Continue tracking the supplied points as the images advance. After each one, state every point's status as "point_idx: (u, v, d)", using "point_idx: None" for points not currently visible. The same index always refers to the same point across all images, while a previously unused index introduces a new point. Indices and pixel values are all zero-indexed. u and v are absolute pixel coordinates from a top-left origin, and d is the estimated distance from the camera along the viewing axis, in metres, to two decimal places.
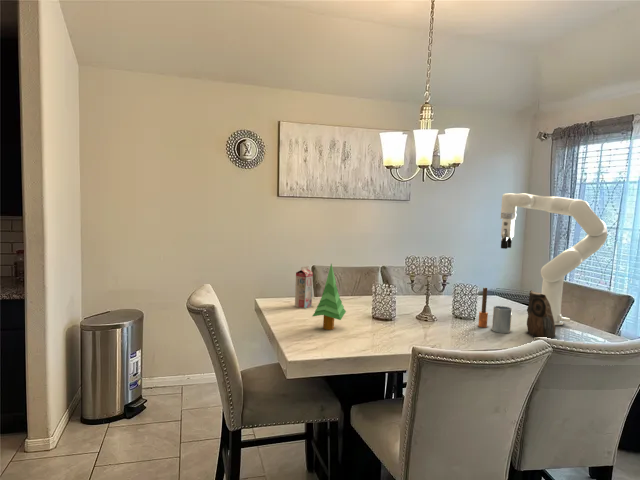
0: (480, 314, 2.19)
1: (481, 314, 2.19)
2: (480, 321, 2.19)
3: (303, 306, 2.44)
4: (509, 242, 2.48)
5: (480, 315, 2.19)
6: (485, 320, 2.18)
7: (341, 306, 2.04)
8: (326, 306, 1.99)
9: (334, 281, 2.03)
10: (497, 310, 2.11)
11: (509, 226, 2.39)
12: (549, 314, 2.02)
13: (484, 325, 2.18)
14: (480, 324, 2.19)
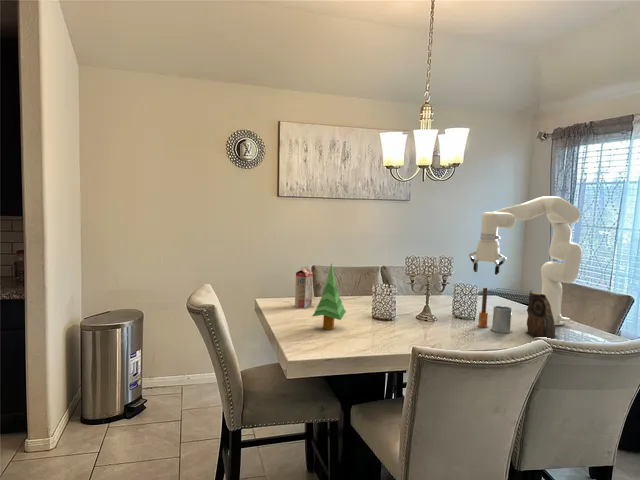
0: (480, 314, 2.19)
1: (481, 314, 2.19)
2: (480, 321, 2.19)
3: (303, 306, 2.44)
4: (477, 265, 2.21)
5: (480, 315, 2.19)
6: (485, 320, 2.18)
7: (341, 306, 2.04)
8: (326, 306, 1.99)
9: (334, 281, 2.03)
10: (497, 310, 2.11)
11: None
12: (549, 314, 2.02)
13: (484, 325, 2.18)
14: (480, 324, 2.19)
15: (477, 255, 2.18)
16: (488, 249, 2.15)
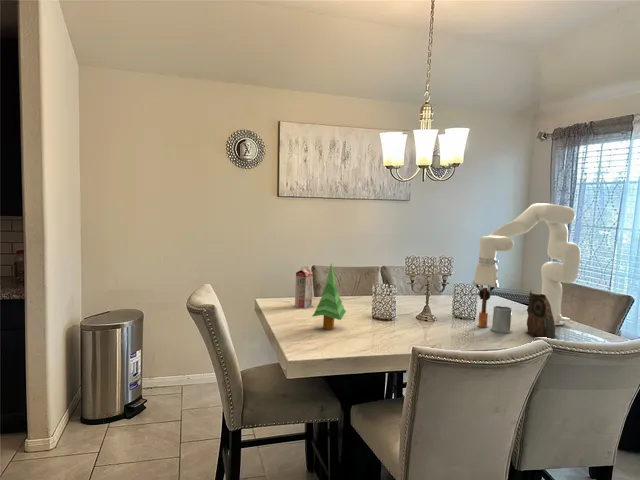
0: (480, 314, 2.19)
1: (481, 314, 2.19)
2: (480, 321, 2.19)
3: (303, 306, 2.44)
4: None
5: (480, 315, 2.19)
6: (485, 320, 2.18)
7: (341, 306, 2.04)
8: (326, 306, 1.99)
9: (334, 281, 2.03)
10: (497, 310, 2.11)
11: (497, 273, 2.17)
12: (549, 314, 2.02)
13: (484, 325, 2.18)
14: (480, 324, 2.19)
15: (476, 279, 2.19)
16: (486, 273, 2.16)
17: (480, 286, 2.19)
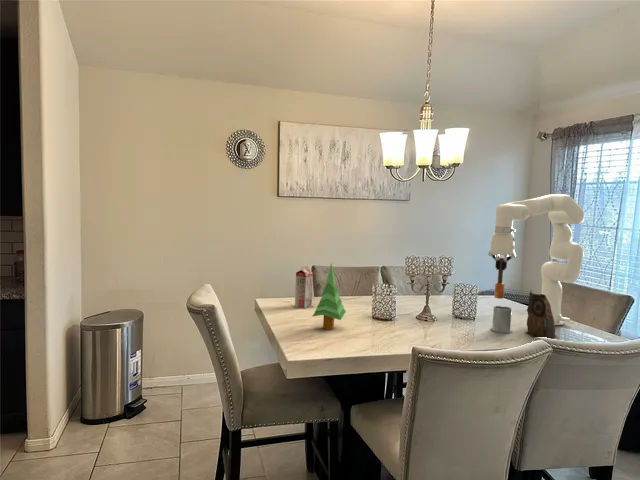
0: (496, 285, 2.13)
1: (497, 285, 2.12)
2: (496, 292, 2.13)
3: (303, 306, 2.44)
4: None
5: (496, 286, 2.13)
6: (501, 291, 2.12)
7: (341, 306, 2.04)
8: (326, 306, 1.99)
9: (334, 281, 2.03)
10: (497, 310, 2.11)
11: None
12: (549, 314, 2.02)
13: (500, 296, 2.12)
14: (496, 295, 2.13)
15: (492, 249, 2.13)
16: (503, 242, 2.10)
17: (496, 256, 2.13)
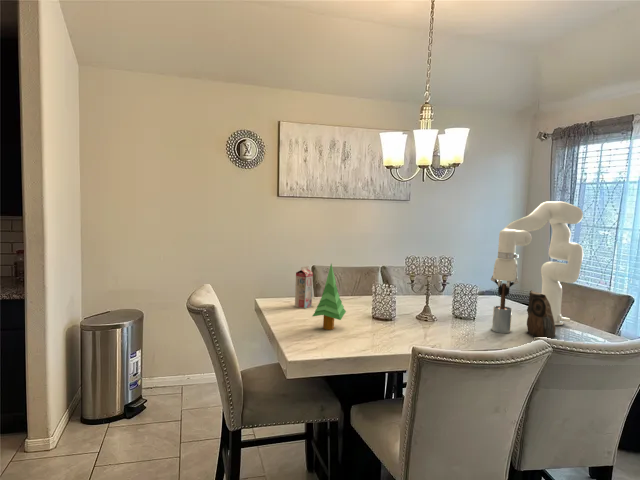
0: None
1: None
2: None
3: (303, 306, 2.44)
4: None
5: None
6: None
7: (341, 306, 2.04)
8: (326, 306, 1.99)
9: (334, 281, 2.03)
10: (497, 310, 2.11)
11: None
12: (549, 314, 2.02)
13: None
14: None
15: (494, 274, 2.12)
16: (506, 268, 2.09)
17: (499, 281, 2.12)
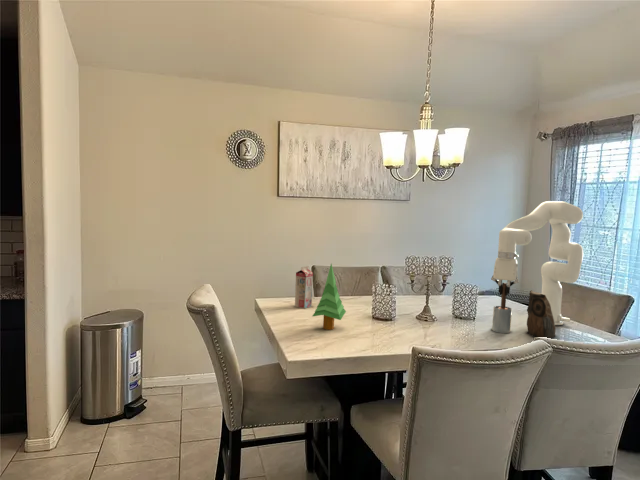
0: None
1: None
2: None
3: (303, 306, 2.44)
4: None
5: None
6: None
7: (341, 306, 2.04)
8: (326, 306, 1.99)
9: (334, 281, 2.03)
10: (497, 310, 2.11)
11: (517, 267, 2.10)
12: (549, 314, 2.02)
13: None
14: None
15: (495, 274, 2.12)
16: (506, 267, 2.09)
17: (499, 281, 2.12)
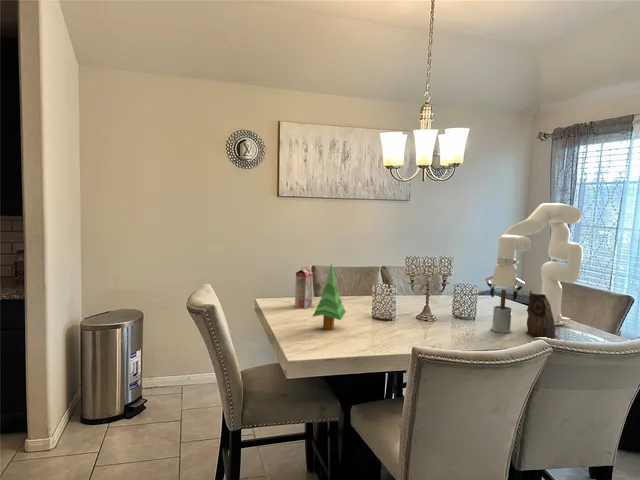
0: None
1: None
2: None
3: (303, 306, 2.44)
4: (494, 290, 2.15)
5: None
6: None
7: (341, 306, 2.04)
8: (326, 306, 1.99)
9: (334, 281, 2.03)
10: (497, 310, 2.11)
11: (516, 273, 2.11)
12: (549, 314, 2.02)
13: None
14: None
15: (494, 280, 2.12)
16: (505, 273, 2.09)
17: (493, 285, 2.13)
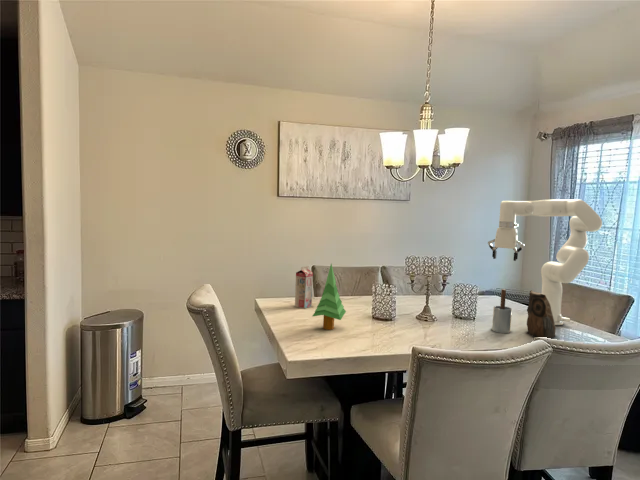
0: None
1: None
2: None
3: (303, 306, 2.44)
4: (496, 252, 2.30)
5: None
6: None
7: (341, 306, 2.04)
8: (326, 306, 1.99)
9: (334, 281, 2.03)
10: (497, 310, 2.11)
11: None
12: (549, 314, 2.02)
13: None
14: None
15: (496, 242, 2.27)
16: (507, 236, 2.23)
17: (495, 247, 2.28)
